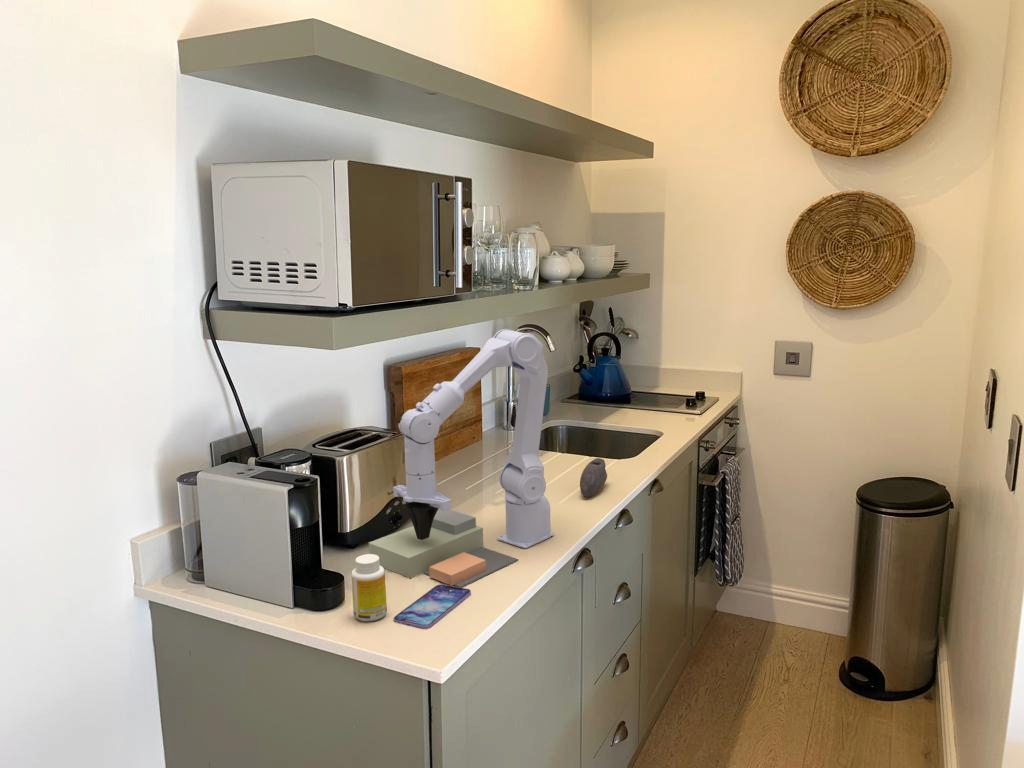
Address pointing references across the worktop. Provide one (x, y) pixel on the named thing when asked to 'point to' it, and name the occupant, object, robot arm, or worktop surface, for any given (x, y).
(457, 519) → the slate gray rectangular block
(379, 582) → the supplement bottle
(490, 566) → the mat
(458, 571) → the peach rectangular tile
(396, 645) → the worktop surface
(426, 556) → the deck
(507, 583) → the worktop surface
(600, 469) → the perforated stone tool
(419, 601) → the smartphone
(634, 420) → the worktop surface
